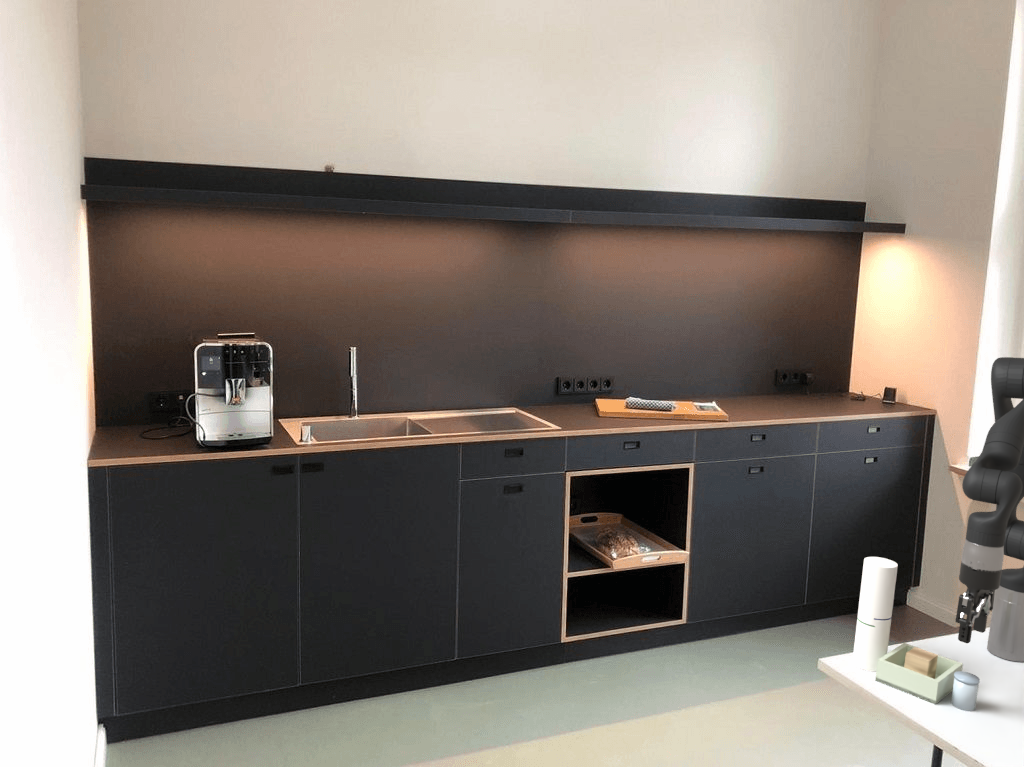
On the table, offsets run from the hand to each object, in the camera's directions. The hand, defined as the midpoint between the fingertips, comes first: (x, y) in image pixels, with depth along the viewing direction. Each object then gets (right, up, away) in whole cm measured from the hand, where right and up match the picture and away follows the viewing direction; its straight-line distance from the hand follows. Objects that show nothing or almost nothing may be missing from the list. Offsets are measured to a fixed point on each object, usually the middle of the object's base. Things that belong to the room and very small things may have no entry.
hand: (971, 636), depth 180 cm
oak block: (-6, -13, +11) cm, 18 cm away
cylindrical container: (-14, -12, +19) cm, 27 cm away
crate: (-6, -14, +11) cm, 19 cm away
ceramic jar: (-1, -15, +2) cm, 16 cm away
